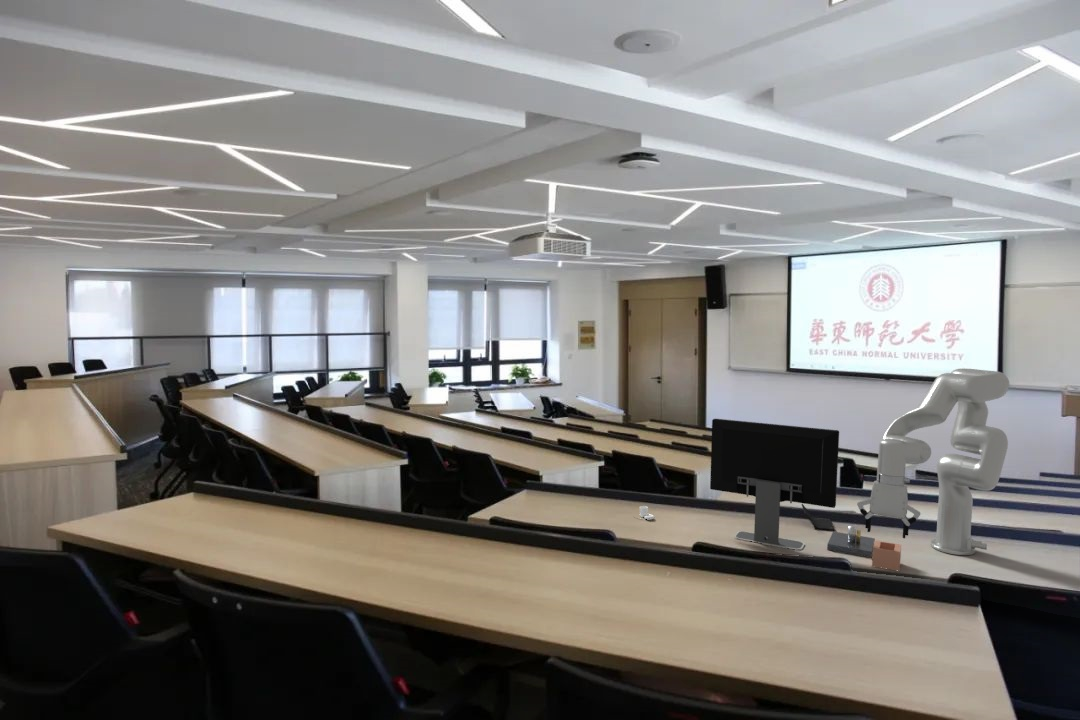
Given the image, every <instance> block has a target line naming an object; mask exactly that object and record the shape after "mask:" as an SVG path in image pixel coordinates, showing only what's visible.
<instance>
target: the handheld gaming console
mask: <svg viewBox="0 0 1080 720" xmlns="http://www.w3.org/2000/svg"><path fill="white" fill-rule="evenodd" d="M800 504H801V507H802V510H803V512H804V515H805V516H806V518H807V519H808V520H809V521H810V523H811V524H812V526H813V528H814V530H815V531H825V532H833V531H834V532H836V530H835V527H834V525H833V522H832V521H831V519H830V518H825V517H814V516H813V515H812V514H811V513H810V512H809V510H807V508H806V507H805V504H804V503H800Z"/></svg>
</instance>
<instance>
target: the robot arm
mask: <svg viewBox="0 0 1080 720" xmlns="http://www.w3.org/2000/svg"><path fill="white" fill-rule="evenodd" d="M1009 389H1010V381H1009V377H1008V376H1007V375H1006V374H1005V373H1004V372H1001V371H997V370H996V371H995V370H985V369H978V368H977V369H975V368H956V369H953V370H952V371H951V372H945V373H941V374H940V375H938V376H937V377H935V379H934V380H933V382H932V384H931V386H930V388H929V389H928V391H927V392H926V393H925V395H924V397H923V398H922V400H921V401H920V403H919V404H918V406H917V407H915V408H914V409H911V410H909V411H907V412H906V413H904V414H902V415H901V416H899V417H897V418H896V419H894V420H893V422H892V423H891V424H890V425H889V427H888V428H887V429H886V430H885V433H884V434H883V437H882V439H880V441H879V445H878V454H877V455H878V456H877V457H878V459H877V471H876V480H874V481H873V484H872V487H871V493H870V498H867V499H864V500H861V501H858V502H857V507H858V509H859V512H860V514H862V516H863V517H864V518H865V529H867V533H870V532H871V531H872V517H873V516H874V515H876V516H882V517H888V518H894V519H901V521H902V522H903V526H902V538H903V539H906V536H909V529H910V525H912V524H914V523H916V522H917V520H918V519H919V517H920V516H921V515H922V514H921V512H920V511H919V510H918V509H916V508H914V507H912V506H911V505H910V504H908V502H909V501H908V499H909V498H908V497H909V496H908V493H909V492H908V486H907V484H908V483H909V484H910V481H911V478H908V477H907V476H906V465H907V464H914V465H915V464H916V465H920V464H924V463H926V462H927V461H928V460H929V459H930V458H931V455H932V448H931V446H930V444H928V442H926V441H924V440H922V439H918V438H912V437H907V435H908V434H909V433H911V432H913V431H915V430H919V429H922V428H927V427H932V426H936V425H940V424H941V425H942V424H943V423H945V422H946V420H947V419H948V417H949V415H950V413H951V412H952V410H953V409H954V408H955V405H956V404H957V411H956V416H955V419H954V423H953V426H952V430H951V434H950V445H951V447H952V448H954V449H956V450H958V451H960V452H965V453H969V454H974V455H979V456H980V458H978V457H977V458H976V457H972V456H967V455H964V454H957V453H946V454H944V455H941V456H940V458H939V459H938V461H937V464H936V470H937V471H936V472H937V480H938V500H937V501H938V503H937V519H936V520H937V523H936V535H935V536H936V537H935V538H934V539H932V540H930V547H932V548H933V549H934V550H936V551H939V552H942V553H945V554H951V555H956V556H970V555H971V556H972V555H974V554H975V553H976V549H980V550H985V551H986V550H987V549H988V545H987V543H984V542H982V541H981V540H974V539H972V535H971V531H972V518H973V517H972V516H973V505H974V504H973V501H974V500H973V493H972V492H971V490H970V488H971V489H975V490H979V491H992V490H993V489H995V488H996V486H997V485H998V483H999V480H1000V477H1001V473H1002V470H1003V468H1004V467H1003V466H1004V463H1005V459H1006V456H1007V452H1008V445H1009V441H1008V437H1007V436H1008V435H1006V433H1005V431H1004V430H1002V429H1000V428H997V427H994V426H988V425H987V421H988V415H989V408H988V405H987V404H986V402H989V401H993V400H998V399H1000V398H1002V397H1003V396H1005V394H1006V393H1007V392H1008V391H1009ZM866 505H869V511H868V512H867V510H866V509H865V508H864V506H866ZM908 511H909V512H911V513H912V514H913V516H912V517H909V518H908V517H907V515H908V514H907V513H908Z"/></svg>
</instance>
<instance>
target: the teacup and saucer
mask: <svg viewBox="0 0 1080 720" xmlns="http://www.w3.org/2000/svg"><path fill="white" fill-rule="evenodd" d="M648 511H649V507H648V505H647V506H646V505H640V506H639V513H640V514H639V516H640V517H641V518H643V517H644V518H643V519H647V520H646V521H651V520H654V519H655V515H653V514H650V513H649V512H648ZM647 514H649V515H647Z"/></svg>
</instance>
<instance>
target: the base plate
mask: <svg viewBox="0 0 1080 720" xmlns="http://www.w3.org/2000/svg"><path fill="white" fill-rule="evenodd" d="M847 528H848V529H847V533H845V532H839V531H832V533H831V535H830V537H829V540H828V542H827V549H826V550H827V551H833V552H836V553H837V552H838V553H843V554H849V555H852V556H853V555H854V556H860V557H866V558H873V546H874V542H875V540H876V538H875V537H871V536H870V537H868V536H863V535H861V532H862V530H860V529H857V526H856V525H852V524H850V525H849V524H848V527H847Z"/></svg>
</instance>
